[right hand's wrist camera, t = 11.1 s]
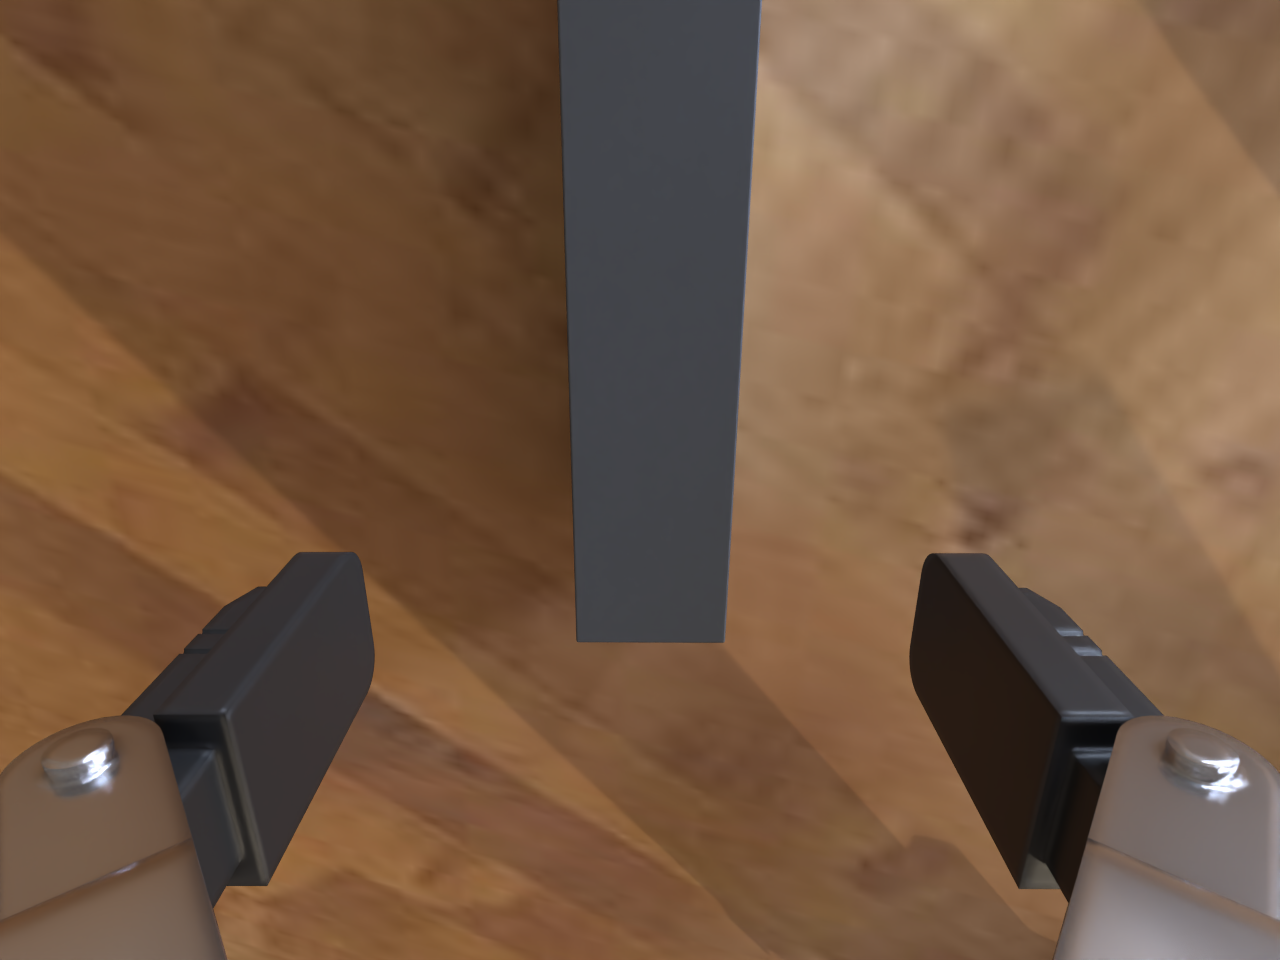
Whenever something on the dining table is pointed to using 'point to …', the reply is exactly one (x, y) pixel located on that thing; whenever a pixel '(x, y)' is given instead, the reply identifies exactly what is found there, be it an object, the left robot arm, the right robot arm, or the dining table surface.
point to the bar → (655, 304)
